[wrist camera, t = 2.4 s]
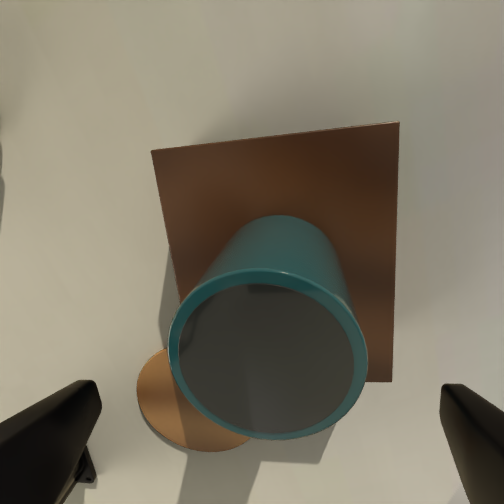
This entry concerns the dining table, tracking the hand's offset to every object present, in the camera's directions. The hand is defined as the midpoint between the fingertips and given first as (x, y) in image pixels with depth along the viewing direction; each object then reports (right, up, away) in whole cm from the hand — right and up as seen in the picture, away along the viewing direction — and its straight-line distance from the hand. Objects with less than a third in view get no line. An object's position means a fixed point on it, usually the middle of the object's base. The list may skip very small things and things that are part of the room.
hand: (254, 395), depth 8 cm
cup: (+1, +3, +8) cm, 8 cm away
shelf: (+2, +4, +12) cm, 13 cm away
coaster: (-4, -8, +17) cm, 19 cm away
